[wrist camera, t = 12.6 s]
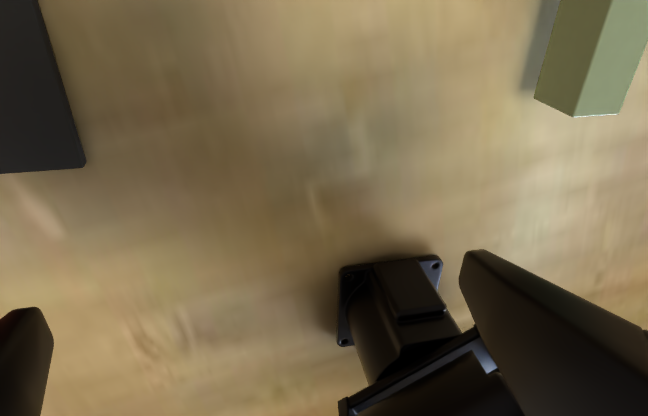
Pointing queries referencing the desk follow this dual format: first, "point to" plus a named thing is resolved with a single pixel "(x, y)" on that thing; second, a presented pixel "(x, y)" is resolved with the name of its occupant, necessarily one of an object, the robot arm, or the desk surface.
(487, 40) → the desk surface
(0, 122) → the mat
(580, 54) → the sage loop
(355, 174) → the desk surface
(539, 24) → the desk surface
